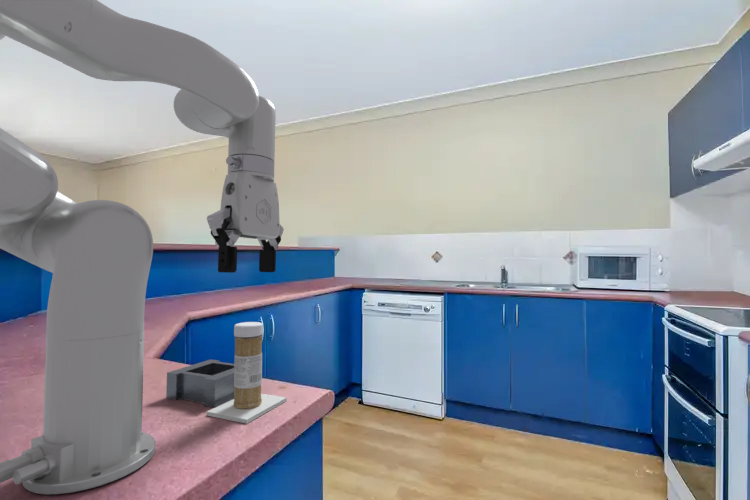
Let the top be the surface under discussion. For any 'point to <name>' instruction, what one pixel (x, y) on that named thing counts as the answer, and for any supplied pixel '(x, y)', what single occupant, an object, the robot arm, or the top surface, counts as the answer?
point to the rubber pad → (249, 414)
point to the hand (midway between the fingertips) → (248, 272)
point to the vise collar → (202, 383)
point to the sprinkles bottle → (248, 364)
